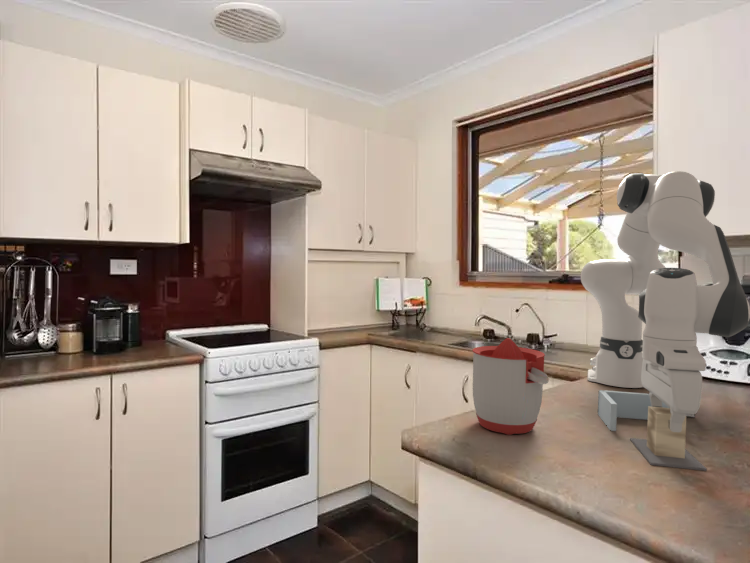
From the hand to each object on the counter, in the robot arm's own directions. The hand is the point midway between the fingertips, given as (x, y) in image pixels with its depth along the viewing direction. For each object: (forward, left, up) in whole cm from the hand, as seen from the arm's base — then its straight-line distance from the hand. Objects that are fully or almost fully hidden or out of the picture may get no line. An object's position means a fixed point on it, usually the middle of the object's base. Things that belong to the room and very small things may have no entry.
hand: (665, 422), depth 92 cm
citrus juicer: (-7, -29, -6) cm, 30 cm away
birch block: (0, 0, -6) cm, 6 cm away
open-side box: (-17, 0, -6) cm, 18 cm away
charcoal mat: (0, 0, -6) cm, 6 cm away
